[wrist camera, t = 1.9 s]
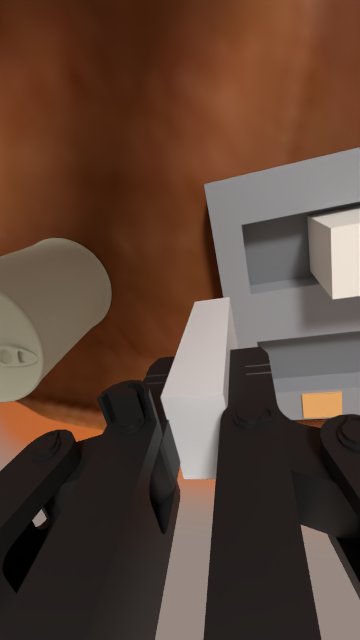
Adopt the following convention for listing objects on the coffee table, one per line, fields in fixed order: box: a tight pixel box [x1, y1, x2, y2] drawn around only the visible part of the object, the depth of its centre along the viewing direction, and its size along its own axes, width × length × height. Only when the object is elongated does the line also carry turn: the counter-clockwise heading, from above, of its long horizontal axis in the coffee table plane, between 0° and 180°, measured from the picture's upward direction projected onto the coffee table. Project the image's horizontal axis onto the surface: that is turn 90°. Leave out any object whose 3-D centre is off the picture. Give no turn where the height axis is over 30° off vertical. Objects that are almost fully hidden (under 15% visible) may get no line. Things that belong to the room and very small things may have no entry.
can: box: [0, 238, 112, 402], centre depth 24 cm, size 9×9×12 cm
